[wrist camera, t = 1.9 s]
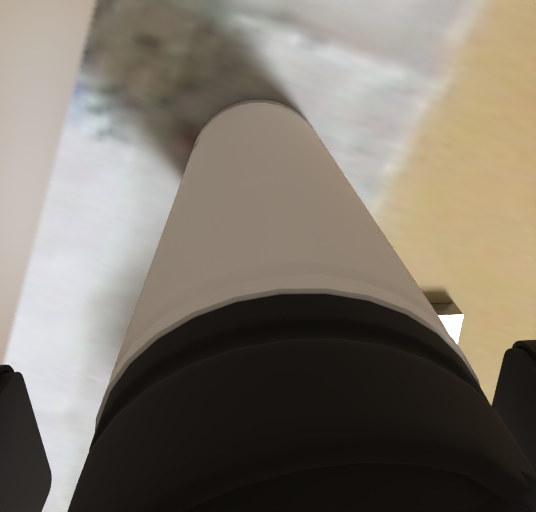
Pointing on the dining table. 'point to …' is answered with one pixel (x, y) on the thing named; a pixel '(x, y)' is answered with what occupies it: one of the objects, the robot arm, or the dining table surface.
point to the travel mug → (289, 354)
